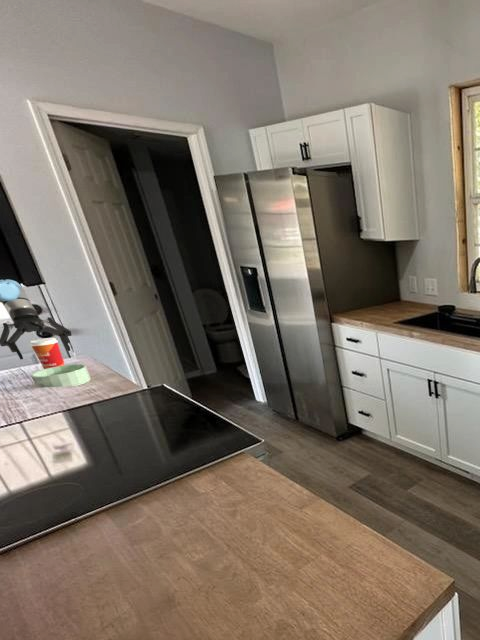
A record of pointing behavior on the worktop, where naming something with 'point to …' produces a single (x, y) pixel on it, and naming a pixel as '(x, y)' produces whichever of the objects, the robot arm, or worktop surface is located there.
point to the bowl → (61, 376)
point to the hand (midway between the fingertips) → (45, 353)
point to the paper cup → (48, 352)
